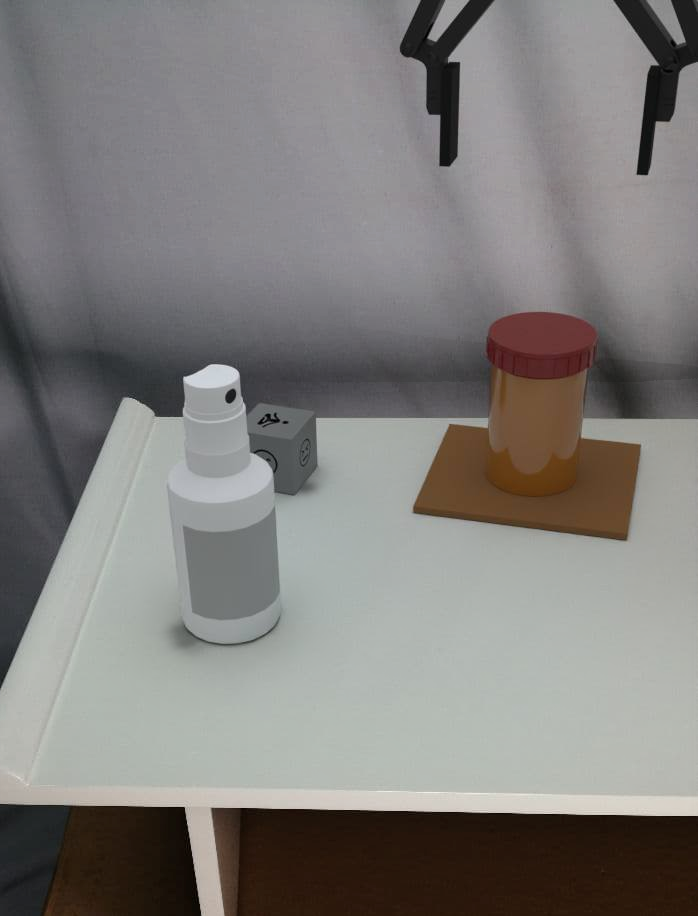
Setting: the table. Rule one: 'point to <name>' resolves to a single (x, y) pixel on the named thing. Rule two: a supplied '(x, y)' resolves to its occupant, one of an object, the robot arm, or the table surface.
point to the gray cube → (284, 443)
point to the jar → (534, 432)
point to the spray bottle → (223, 516)
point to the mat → (574, 510)
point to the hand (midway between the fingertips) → (543, 166)
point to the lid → (541, 344)
